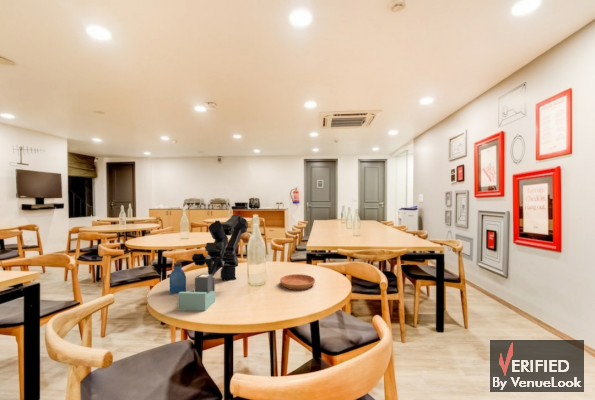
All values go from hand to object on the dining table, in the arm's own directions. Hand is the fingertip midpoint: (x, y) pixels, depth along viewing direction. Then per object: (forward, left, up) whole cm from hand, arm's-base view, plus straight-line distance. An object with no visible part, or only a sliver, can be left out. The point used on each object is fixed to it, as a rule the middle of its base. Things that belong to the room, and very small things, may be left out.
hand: (209, 277), depth 106 cm
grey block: (+2, +4, -7) cm, 9 cm away
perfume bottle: (+12, -11, -7) cm, 18 cm away
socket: (+5, +9, -7) cm, 13 cm away
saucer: (-38, +4, -8) cm, 39 cm away
